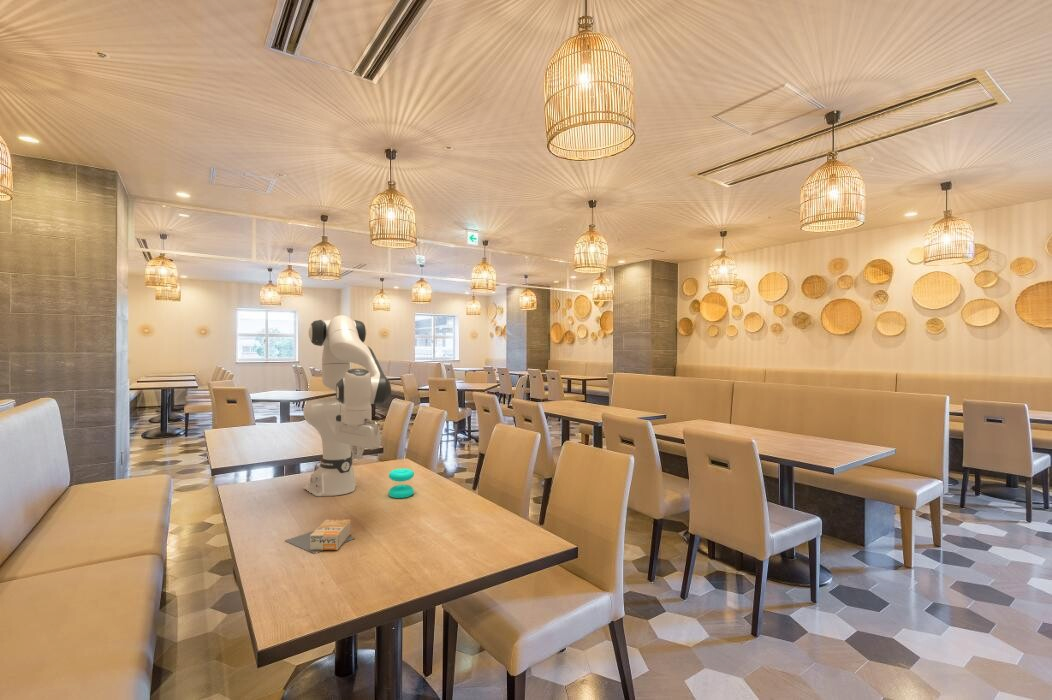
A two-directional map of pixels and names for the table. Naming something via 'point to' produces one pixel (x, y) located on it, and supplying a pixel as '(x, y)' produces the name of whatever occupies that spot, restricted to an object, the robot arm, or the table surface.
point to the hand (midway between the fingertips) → (357, 458)
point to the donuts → (401, 490)
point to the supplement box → (330, 535)
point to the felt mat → (307, 541)
